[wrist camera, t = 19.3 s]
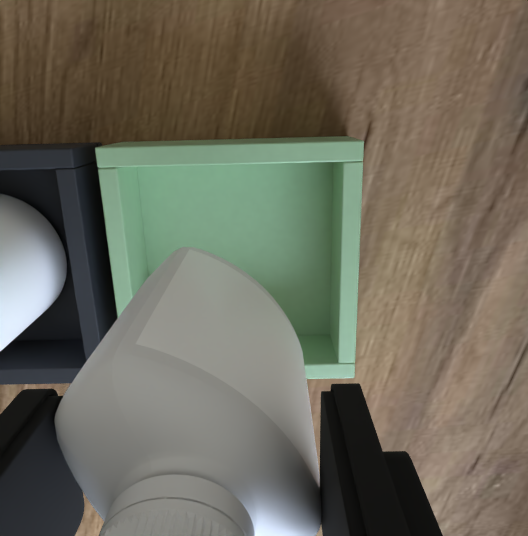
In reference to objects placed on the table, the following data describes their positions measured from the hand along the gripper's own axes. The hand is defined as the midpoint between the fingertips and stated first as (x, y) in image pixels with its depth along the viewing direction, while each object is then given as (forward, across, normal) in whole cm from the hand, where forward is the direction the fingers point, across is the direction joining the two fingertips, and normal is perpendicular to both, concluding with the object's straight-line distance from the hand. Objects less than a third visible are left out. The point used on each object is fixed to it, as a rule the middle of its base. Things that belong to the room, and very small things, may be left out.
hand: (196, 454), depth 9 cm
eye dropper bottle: (+7, 0, 0) cm, 7 cm away
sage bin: (+15, 0, 0) cm, 15 cm away
